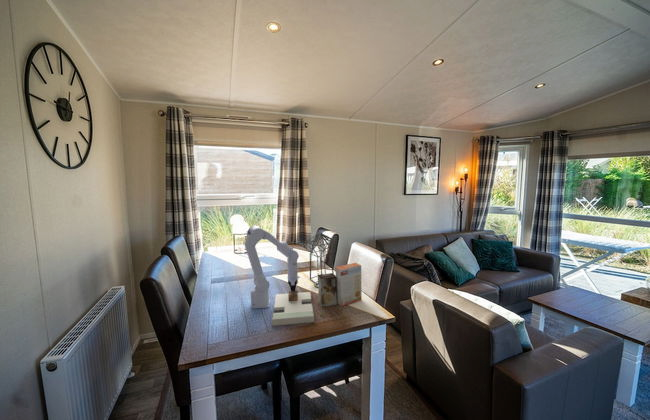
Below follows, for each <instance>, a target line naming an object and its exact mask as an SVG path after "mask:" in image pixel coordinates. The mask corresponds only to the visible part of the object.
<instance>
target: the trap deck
mask: <svg viewBox="0 0 650 420" xmlns="http://www.w3.org/2000/svg"><path fill="white" fill-rule="evenodd" d="M288 295H289V292H288V293H276V294H275V299H274V306H273V314H272V318H271V326H272V327H274V326H283V325H285V326H286V325H296V324H307V323H315V314H314V310H313V309H314V308H313V303H312V295H311V291H306V292H305V291H304V292H298V301H289V296H288Z"/></svg>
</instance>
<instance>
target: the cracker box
mask: <svg viewBox="0 0 650 420" xmlns="http://www.w3.org/2000/svg"><path fill="white" fill-rule="evenodd" d="M335 276H336V281H337V305H339V306H340V307H345V306H348V305H352V304H354V303H357V302H360V301H362V298H363V297H362V265H361V264H359V263H357V262H352V263H348V264H344V265H340V266H336V267H335Z"/></svg>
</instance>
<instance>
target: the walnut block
mask: <svg viewBox="0 0 650 420" xmlns="http://www.w3.org/2000/svg"><path fill="white" fill-rule="evenodd" d="M288 293H289V295H288V296H289V301H298V293H299V292H298V290H295V291H291V290H288Z"/></svg>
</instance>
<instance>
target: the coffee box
mask: <svg viewBox="0 0 650 420" xmlns="http://www.w3.org/2000/svg"><path fill="white" fill-rule="evenodd" d="M317 281H318V282H317V283H318V285H317V287H318V303H319V305H320V306H321V307H322V308H324V307H328V306H329V307H330V306H335V305H338V303H337V281H336V274H335V273H334V274H333V273H332V272H331V273H326V274H325V273H322V274H321V273H320V274H317Z"/></svg>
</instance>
